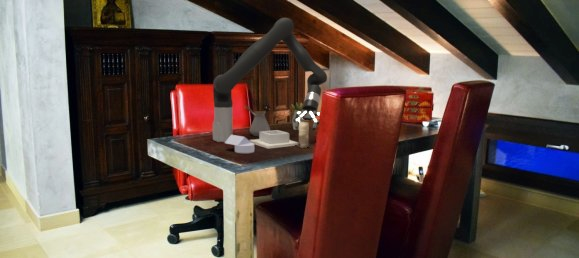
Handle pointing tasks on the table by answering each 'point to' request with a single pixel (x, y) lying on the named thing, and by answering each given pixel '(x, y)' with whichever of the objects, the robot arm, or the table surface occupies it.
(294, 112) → the house plant
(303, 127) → the coupling plug
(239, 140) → the wedge on round base
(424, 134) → the table surface
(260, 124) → the coffee pot
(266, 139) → the socket plate
